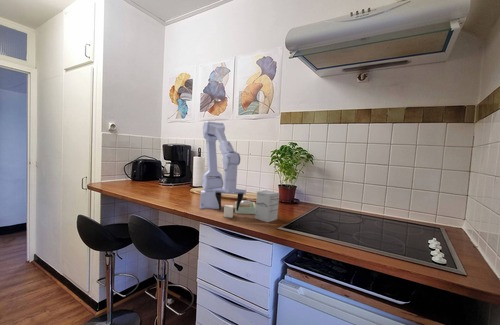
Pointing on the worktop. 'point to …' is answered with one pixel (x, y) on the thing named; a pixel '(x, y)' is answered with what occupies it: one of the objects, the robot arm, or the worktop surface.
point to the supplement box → (267, 205)
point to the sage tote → (246, 209)
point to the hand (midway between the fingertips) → (228, 209)
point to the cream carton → (228, 211)
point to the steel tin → (245, 203)
